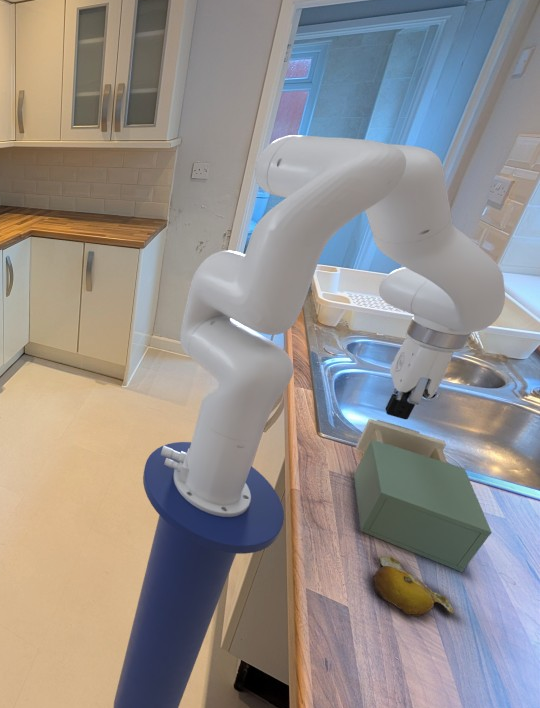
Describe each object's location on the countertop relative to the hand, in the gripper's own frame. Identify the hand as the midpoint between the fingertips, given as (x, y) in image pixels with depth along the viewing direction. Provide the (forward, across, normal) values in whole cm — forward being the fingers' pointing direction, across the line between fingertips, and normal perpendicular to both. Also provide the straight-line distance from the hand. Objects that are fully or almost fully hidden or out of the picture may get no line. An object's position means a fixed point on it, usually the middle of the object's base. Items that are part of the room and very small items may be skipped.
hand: (395, 414), depth 84 cm
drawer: (+5, +12, 0) cm, 13 cm away
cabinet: (+6, +23, 0) cm, 23 cm away
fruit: (+6, +38, -1) cm, 38 cm away
